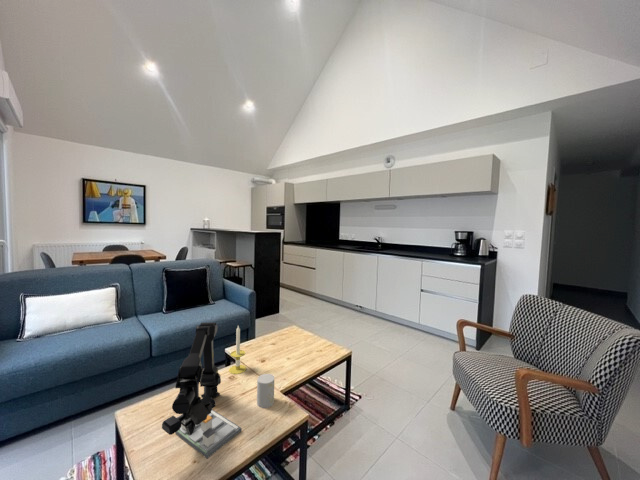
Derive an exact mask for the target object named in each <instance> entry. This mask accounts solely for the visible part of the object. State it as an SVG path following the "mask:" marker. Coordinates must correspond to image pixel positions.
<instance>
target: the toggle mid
mask: <svg viewBox="0 0 640 480" xmlns="http://www.w3.org/2000/svg"><path fill="white" fill-rule="evenodd" d="M211 427H212V417H211V416H209V415H208V416H207V419H206V420H204V421H202V422H201V429H202V430H204V431H206V430H208V429H209V428H211Z"/></svg>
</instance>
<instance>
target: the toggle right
mask: <svg viewBox="0 0 640 480" xmlns="http://www.w3.org/2000/svg"><path fill="white" fill-rule="evenodd" d="M213 442H215V431H213V430H212V429H211V428H209V429H208V430H206V431H205V432H204V433H203V444H204V445H206V446H207V447H208V446H210V445H211V444H212V443H213Z"/></svg>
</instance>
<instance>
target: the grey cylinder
mask: <svg viewBox="0 0 640 480" xmlns="http://www.w3.org/2000/svg"><path fill="white" fill-rule="evenodd" d="M256 380H257V381H256V383H257V384H256V405H257V407H259V408H262V409H267V408H271V406H273V405H274V404H275V403H274V402H275V375H274V374H271V373H263V374H260V375H258V376H257V379H256Z"/></svg>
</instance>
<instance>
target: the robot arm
mask: <svg viewBox="0 0 640 480" xmlns="http://www.w3.org/2000/svg"><path fill="white" fill-rule="evenodd" d="M218 330H219V329H218V324H217V323H216V322H201V323H200V325H199V324H198V325H196V328H195V336H194V338H193V341H192V346H191V348H190V350H189V354H188V356H187V357H185V359H184V360H183V361H182V364H181V366H180V367H179V368H178V372H177V377H176V382H175V386H174V387H175V389H179V392H178V394H177V396H176V398H175V399H174V401H173V402H172V405H171V409H172V411H173V412H174V414H175V413H176V414H178V416H177V417H176V416H175V415H172V416H170V417H168V418H167V419H165V420H163V421H162V424H161V429H162V430H163V431H164V432H166V433H167V434H168V435H170V436H171V435H173V434H175V432H177V431H178V430H179V429H180V428H181V424H182V425H183V426H185V428H186V430H187V432H188V434H189V435H192V433H193V431H194V428H195V425H198V424H200V423H201V422H202V421H204V420H206V419H207V416H208V415H209V414H210V413H211V411H212V410H213V409H214V408H215V407H216V406H217V405H216V402H217V401H216V400H215V398H217V397H219V396H220V392H218V386H219V385H221V383H222V380H221V374H220V373H219V369H218V367H217V366H216V365H215V355H214V353H215V351H214V339H215V336H216V335H217V333H218ZM202 356H203V364H202V361H201V360H202V359H201V358H202ZM200 387H203V394H201V395H200V393H199V390H200V389H199V388H200Z"/></svg>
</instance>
